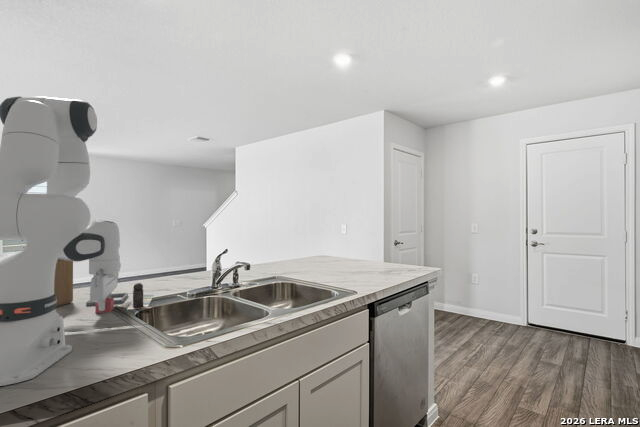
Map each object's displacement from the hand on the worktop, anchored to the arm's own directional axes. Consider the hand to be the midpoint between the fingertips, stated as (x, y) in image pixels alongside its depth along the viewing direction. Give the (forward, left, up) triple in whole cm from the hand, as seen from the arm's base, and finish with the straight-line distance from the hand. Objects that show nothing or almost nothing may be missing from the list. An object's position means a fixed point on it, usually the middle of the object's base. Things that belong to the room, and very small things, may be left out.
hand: (104, 307), depth 113 cm
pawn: (+1, -10, -1) cm, 10 cm away
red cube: (0, 0, -2) cm, 2 cm away
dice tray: (+14, +2, -2) cm, 14 cm away
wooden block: (+17, +21, -2) cm, 27 cm away
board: (+9, -10, -2) cm, 14 cm away
